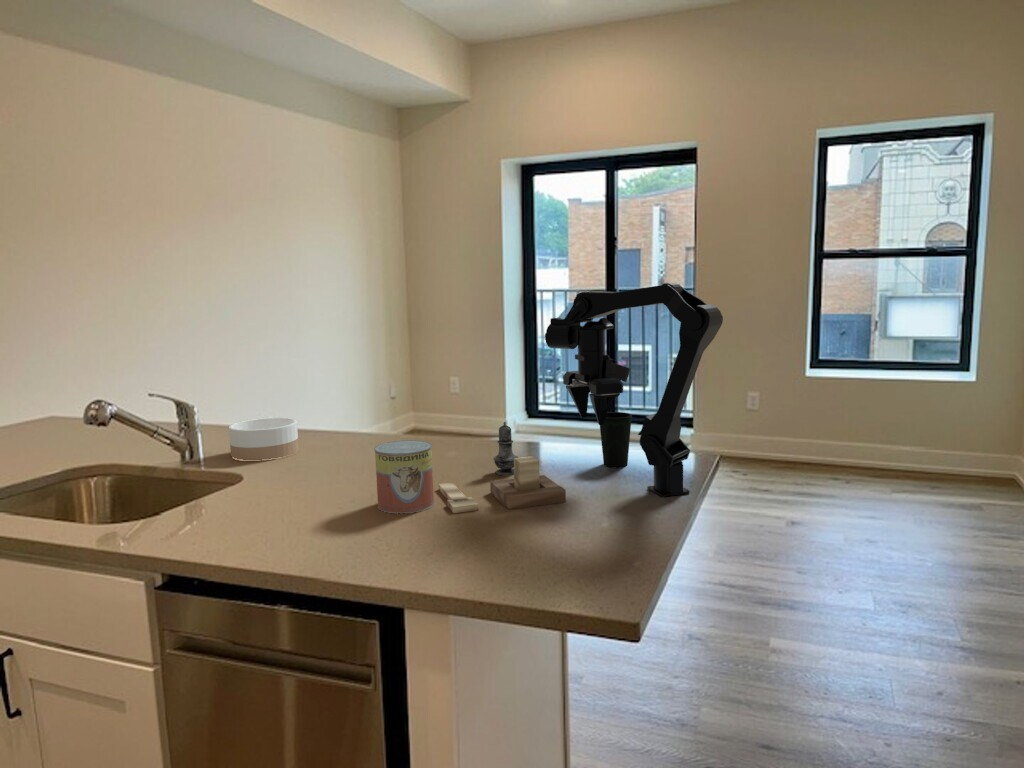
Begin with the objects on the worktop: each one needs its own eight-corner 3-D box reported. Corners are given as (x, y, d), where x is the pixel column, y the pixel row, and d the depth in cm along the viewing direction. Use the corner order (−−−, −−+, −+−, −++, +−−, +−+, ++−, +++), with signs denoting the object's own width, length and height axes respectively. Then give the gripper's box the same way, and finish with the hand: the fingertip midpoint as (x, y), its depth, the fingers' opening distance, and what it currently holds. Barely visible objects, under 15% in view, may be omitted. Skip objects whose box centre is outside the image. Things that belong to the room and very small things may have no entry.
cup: (631, 460, 175) (630, 411, 173) (633, 468, 167) (632, 417, 166) (598, 460, 176) (598, 412, 174) (599, 468, 168) (599, 418, 167)
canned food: (380, 516, 138) (377, 455, 137) (375, 500, 149) (372, 443, 147) (438, 510, 141) (436, 450, 140) (429, 494, 152) (427, 438, 150)
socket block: (565, 501, 144) (565, 489, 144) (508, 509, 140) (508, 496, 140) (544, 486, 155) (543, 474, 155) (490, 492, 152) (490, 481, 151)
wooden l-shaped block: (478, 509, 141) (478, 504, 140) (453, 513, 139) (453, 507, 139) (456, 487, 157) (456, 481, 156) (434, 489, 155) (434, 484, 155)
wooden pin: (539, 499, 147) (538, 460, 145) (521, 501, 145) (520, 462, 144) (533, 493, 150) (532, 456, 149) (514, 496, 149) (513, 458, 148)
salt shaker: (516, 476, 164) (514, 424, 162) (490, 475, 165) (489, 424, 163) (521, 469, 170) (519, 419, 168) (496, 469, 171) (495, 419, 169)
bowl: (216, 460, 188) (213, 429, 186) (257, 446, 204) (255, 416, 203) (273, 463, 183) (271, 431, 181) (311, 448, 199) (309, 418, 198)
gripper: (645, 351, 150) (646, 425, 152) (606, 344, 167) (606, 411, 169) (596, 354, 146) (597, 430, 148) (561, 347, 164) (562, 415, 166)
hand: (592, 421), depth 158 cm, fingers open, 9 cm apart
